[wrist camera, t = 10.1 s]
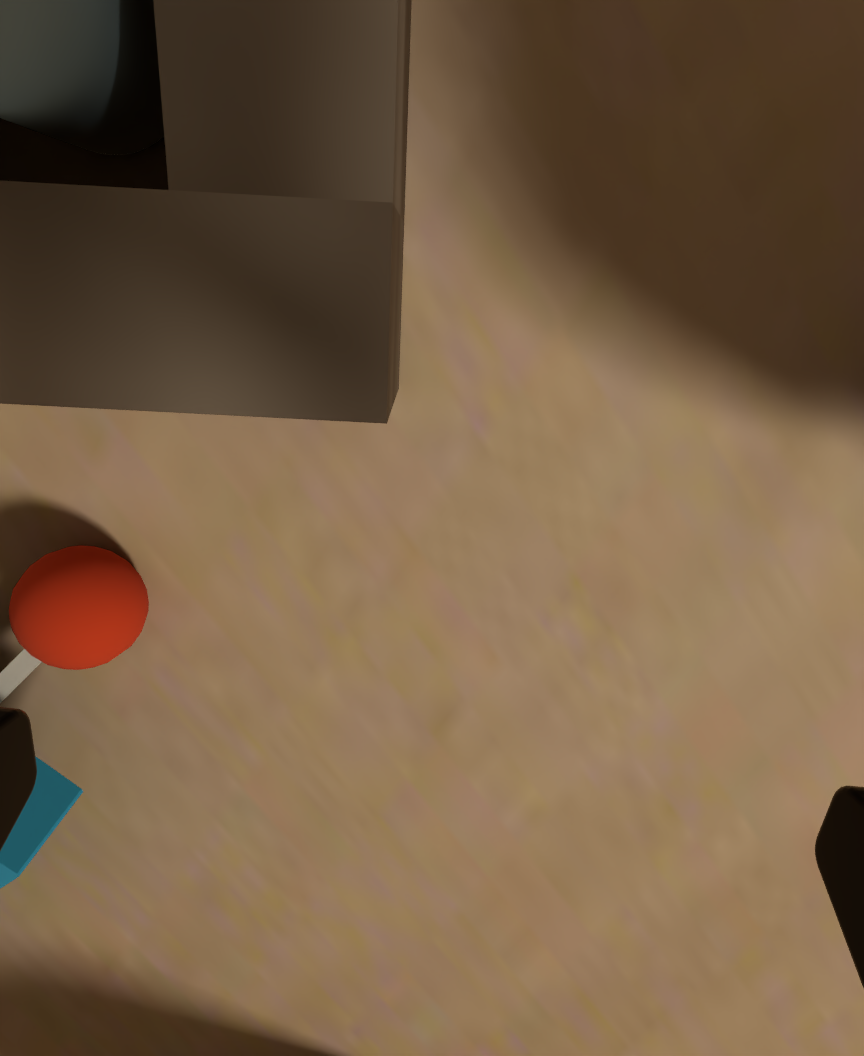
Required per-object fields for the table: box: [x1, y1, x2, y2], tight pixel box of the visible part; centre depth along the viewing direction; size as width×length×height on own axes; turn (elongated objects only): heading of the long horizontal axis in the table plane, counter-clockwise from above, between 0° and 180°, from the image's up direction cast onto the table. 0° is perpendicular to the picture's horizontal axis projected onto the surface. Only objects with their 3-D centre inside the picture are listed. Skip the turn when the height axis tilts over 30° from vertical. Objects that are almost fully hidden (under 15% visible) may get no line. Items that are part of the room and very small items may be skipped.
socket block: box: [0, 0, 411, 423], centre depth 13 cm, size 14×14×4 cm
